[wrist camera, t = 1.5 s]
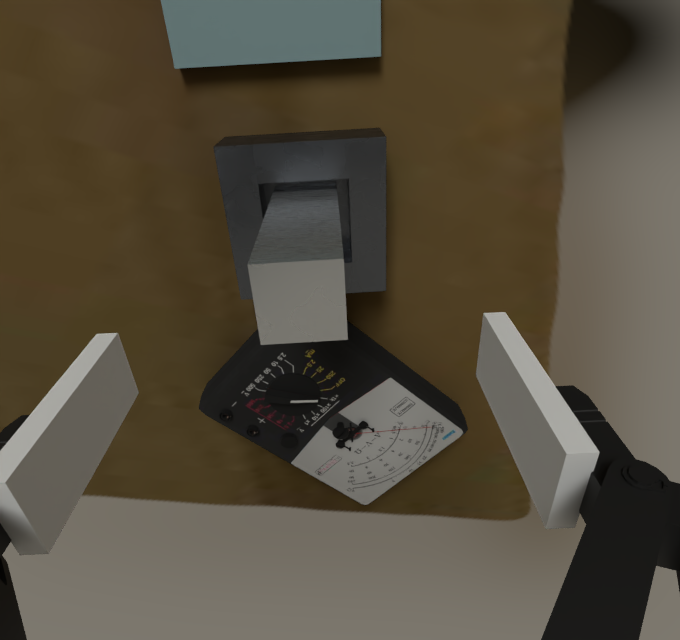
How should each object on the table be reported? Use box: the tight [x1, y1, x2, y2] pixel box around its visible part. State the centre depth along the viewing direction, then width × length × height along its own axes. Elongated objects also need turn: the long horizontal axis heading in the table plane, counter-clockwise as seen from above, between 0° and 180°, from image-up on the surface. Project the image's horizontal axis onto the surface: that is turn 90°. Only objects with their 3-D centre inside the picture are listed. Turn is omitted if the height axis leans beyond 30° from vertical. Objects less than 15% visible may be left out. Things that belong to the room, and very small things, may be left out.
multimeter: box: [199, 321, 468, 505], centre depth 39 cm, size 13×19×5 cm
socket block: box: [214, 128, 386, 299], centre depth 31 cm, size 10×10×4 cm
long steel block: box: [247, 182, 348, 345], centre depth 26 cm, size 4×4×13 cm
